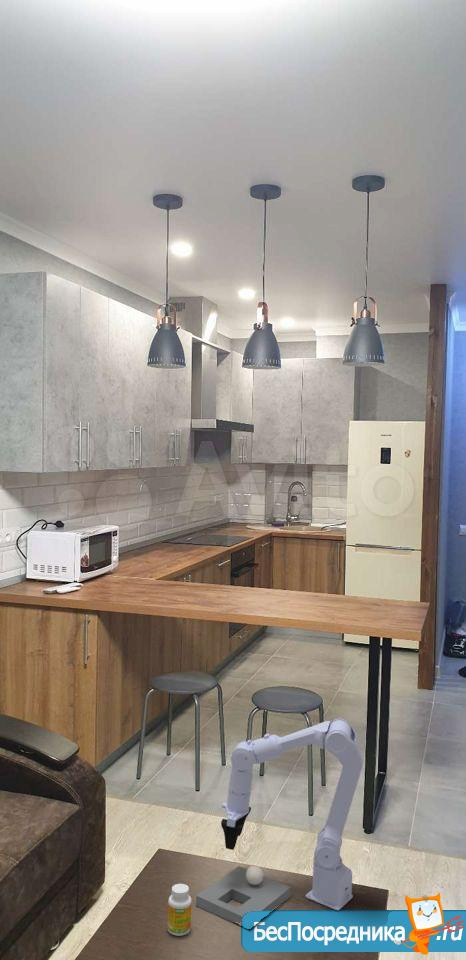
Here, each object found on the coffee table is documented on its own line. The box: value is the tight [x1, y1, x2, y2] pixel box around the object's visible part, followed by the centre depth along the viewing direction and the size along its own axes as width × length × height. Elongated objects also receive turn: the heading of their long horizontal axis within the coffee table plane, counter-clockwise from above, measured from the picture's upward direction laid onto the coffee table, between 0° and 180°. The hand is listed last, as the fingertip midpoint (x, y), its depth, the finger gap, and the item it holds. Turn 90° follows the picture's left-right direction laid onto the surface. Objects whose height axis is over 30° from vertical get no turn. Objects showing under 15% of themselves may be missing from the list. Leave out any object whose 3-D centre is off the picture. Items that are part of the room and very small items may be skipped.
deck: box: [195, 866, 291, 923], centre depth 192 cm, size 16×18×2 cm
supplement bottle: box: [167, 883, 192, 937], centre depth 180 cm, size 5×5×10 cm
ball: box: [246, 865, 264, 885], centre depth 196 cm, size 4×4×4 cm
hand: (233, 841), depth 201 cm, fingers open, 7 cm apart
